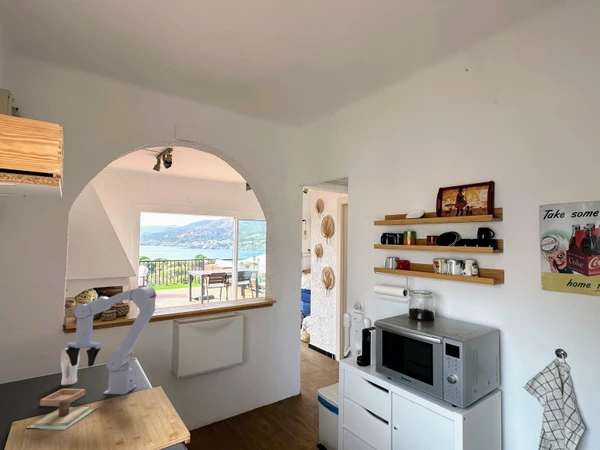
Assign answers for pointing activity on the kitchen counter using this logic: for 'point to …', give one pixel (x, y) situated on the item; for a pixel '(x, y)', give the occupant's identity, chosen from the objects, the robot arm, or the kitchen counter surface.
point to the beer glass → (68, 369)
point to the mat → (61, 427)
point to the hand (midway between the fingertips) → (82, 365)
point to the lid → (63, 414)
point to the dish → (62, 396)
